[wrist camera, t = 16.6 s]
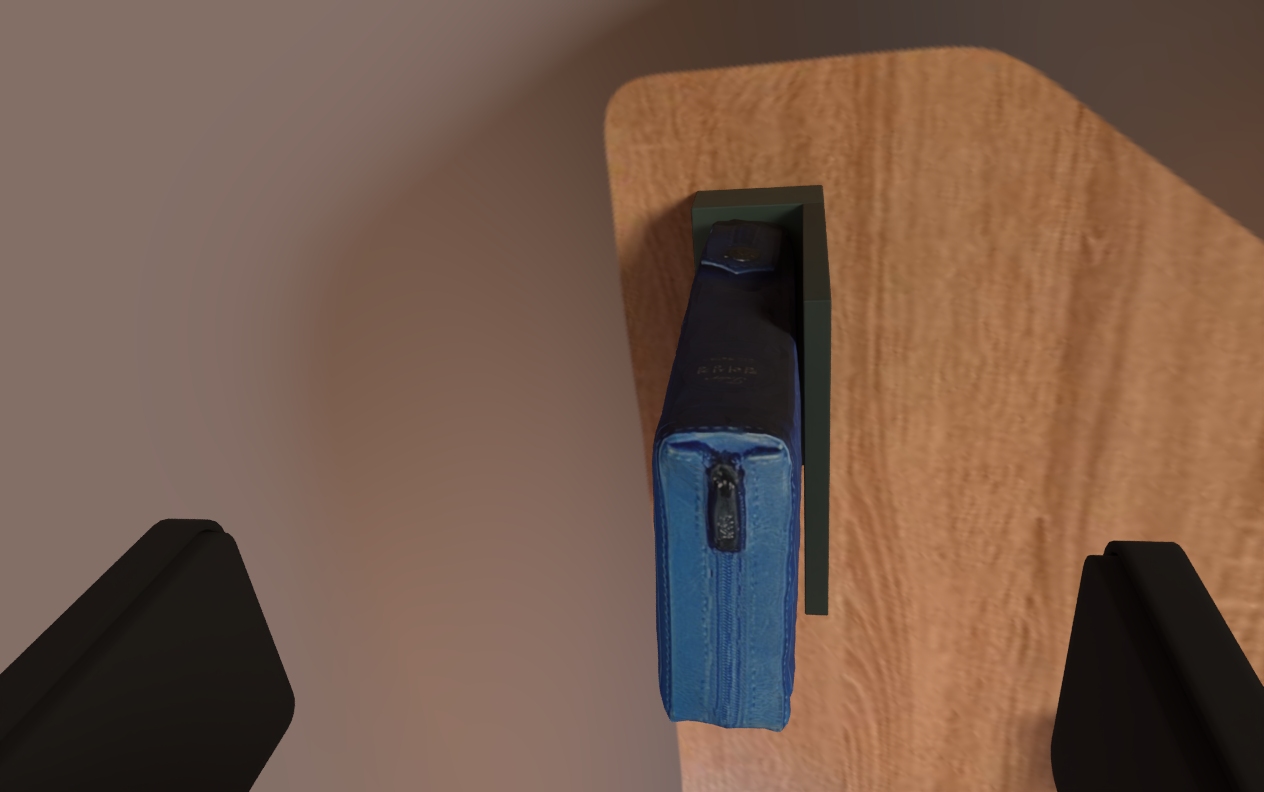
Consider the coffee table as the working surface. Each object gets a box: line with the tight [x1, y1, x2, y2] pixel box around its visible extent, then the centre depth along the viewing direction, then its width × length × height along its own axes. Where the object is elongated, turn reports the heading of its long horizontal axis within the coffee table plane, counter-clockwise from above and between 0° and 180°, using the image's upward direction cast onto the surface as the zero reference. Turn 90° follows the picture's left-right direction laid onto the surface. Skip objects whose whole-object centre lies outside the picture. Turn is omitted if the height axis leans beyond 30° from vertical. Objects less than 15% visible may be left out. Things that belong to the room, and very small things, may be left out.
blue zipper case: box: [652, 219, 802, 732], centre depth 38 cm, size 14×5×20 cm, turn 3°
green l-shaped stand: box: [691, 185, 831, 615], centre depth 43 cm, size 6×15×15 cm, turn 6°
